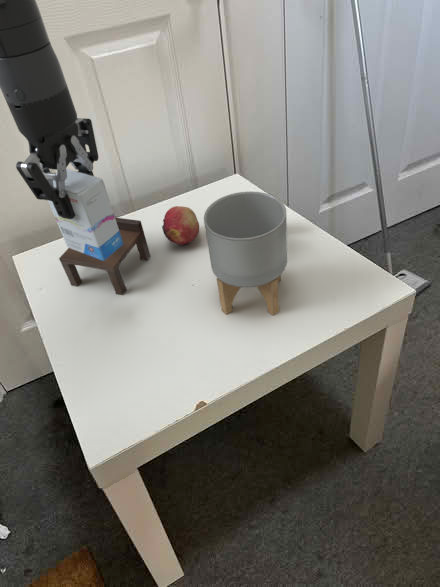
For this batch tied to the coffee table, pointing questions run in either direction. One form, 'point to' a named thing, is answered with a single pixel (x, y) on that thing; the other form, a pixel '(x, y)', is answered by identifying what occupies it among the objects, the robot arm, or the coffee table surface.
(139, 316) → the coffee table surface
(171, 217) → the fruit
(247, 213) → the planter
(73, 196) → the ink box
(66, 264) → the small wooden stool
